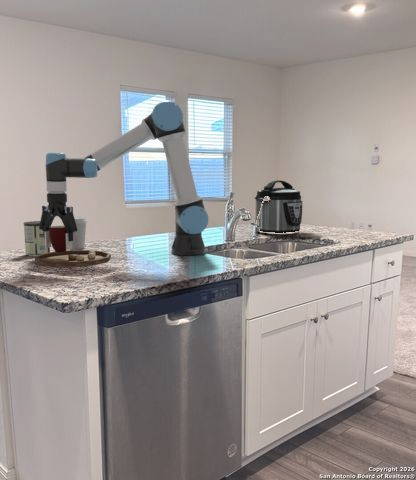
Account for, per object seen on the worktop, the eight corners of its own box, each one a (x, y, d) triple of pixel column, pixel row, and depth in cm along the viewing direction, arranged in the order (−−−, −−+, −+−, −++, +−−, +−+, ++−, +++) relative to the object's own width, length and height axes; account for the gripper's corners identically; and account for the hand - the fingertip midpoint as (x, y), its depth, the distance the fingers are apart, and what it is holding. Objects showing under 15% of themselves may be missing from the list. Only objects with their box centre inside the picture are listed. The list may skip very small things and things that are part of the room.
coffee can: (35, 252, 213) (34, 220, 211) (55, 253, 210) (53, 221, 208) (19, 255, 204) (18, 222, 202) (39, 257, 200) (38, 223, 198)
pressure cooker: (261, 236, 271) (262, 180, 267) (247, 231, 299) (248, 180, 294) (310, 235, 277) (312, 180, 273) (292, 230, 305) (293, 180, 300)
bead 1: (86, 262, 183) (85, 254, 182) (80, 263, 180) (80, 255, 179) (79, 261, 184) (79, 254, 183) (74, 262, 181) (74, 255, 181)
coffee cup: (76, 253, 211) (75, 219, 209) (61, 251, 216) (60, 218, 214) (92, 250, 219) (91, 217, 217) (77, 248, 224) (76, 216, 222)
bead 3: (97, 260, 187) (96, 252, 187) (92, 261, 185) (92, 253, 184) (91, 259, 189) (90, 252, 188) (86, 260, 186) (85, 253, 186)
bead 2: (97, 257, 193) (97, 250, 192) (92, 258, 190) (92, 251, 190) (91, 257, 194) (91, 249, 194) (86, 258, 192) (86, 250, 191)
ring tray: (124, 260, 195) (123, 252, 194) (77, 272, 170) (77, 264, 169) (70, 254, 207) (70, 247, 206) (20, 265, 182) (19, 257, 181)
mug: (41, 251, 191) (40, 226, 189) (58, 249, 197) (57, 224, 196) (58, 253, 184) (57, 228, 183) (75, 251, 191) (74, 226, 190)
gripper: (86, 193, 186) (87, 249, 189) (42, 191, 196) (44, 245, 199) (72, 193, 179) (74, 251, 182) (28, 192, 189) (30, 247, 192)
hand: (58, 248), depth 191 cm, fingers closed on mug, 10 cm apart
